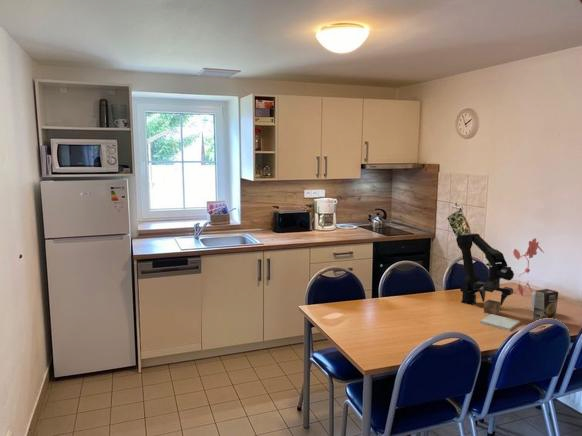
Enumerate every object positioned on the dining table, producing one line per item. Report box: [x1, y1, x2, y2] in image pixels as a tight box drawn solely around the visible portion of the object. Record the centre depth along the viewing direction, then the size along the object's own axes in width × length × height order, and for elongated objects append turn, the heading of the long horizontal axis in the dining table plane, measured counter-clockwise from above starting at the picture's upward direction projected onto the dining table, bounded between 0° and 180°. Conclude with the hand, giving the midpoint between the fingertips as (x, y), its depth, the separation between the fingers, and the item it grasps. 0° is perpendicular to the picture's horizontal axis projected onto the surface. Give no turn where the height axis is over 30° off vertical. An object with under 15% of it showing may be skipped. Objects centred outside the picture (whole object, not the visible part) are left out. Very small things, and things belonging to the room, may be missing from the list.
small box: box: [530, 291, 536, 313], centre depth 241 cm, size 8×6×10 cm
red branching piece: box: [512, 237, 545, 296], centre depth 270 cm, size 15×26×35 cm, turn 124°
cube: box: [483, 299, 501, 316], centre depth 241 cm, size 6×6×6 cm
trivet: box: [480, 314, 521, 332], centre depth 226 cm, size 14×14×1 cm
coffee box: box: [532, 288, 559, 322], centre depth 228 cm, size 9×6×16 cm
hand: (492, 303), depth 241 cm, fingers open, 9 cm apart
